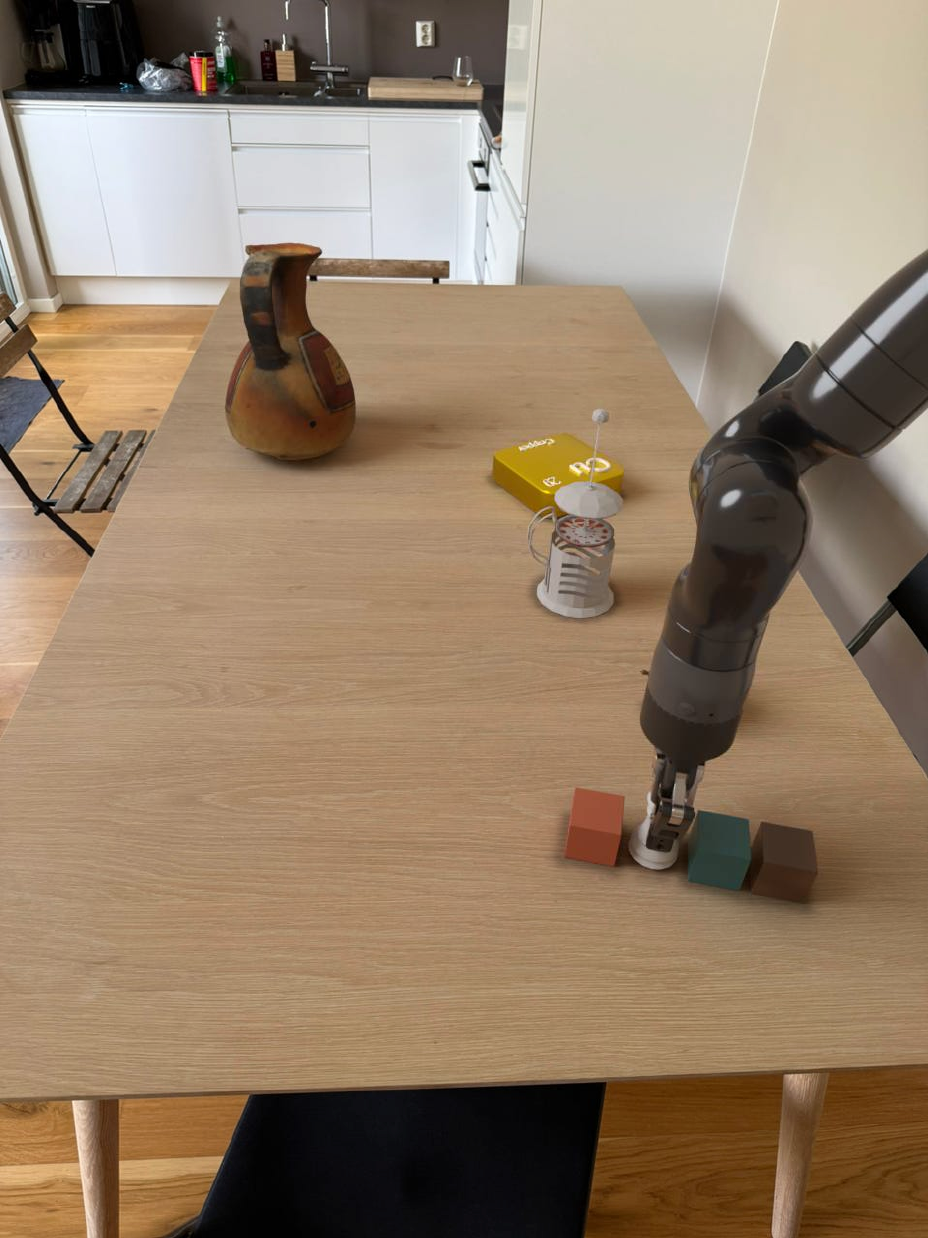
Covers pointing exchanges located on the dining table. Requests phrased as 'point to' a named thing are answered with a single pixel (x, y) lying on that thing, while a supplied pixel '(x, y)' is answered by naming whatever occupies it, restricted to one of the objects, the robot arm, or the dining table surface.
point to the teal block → (719, 850)
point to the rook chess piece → (645, 855)
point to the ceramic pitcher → (286, 363)
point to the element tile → (551, 470)
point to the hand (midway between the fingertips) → (658, 829)
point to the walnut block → (783, 862)
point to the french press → (580, 547)
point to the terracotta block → (595, 827)
